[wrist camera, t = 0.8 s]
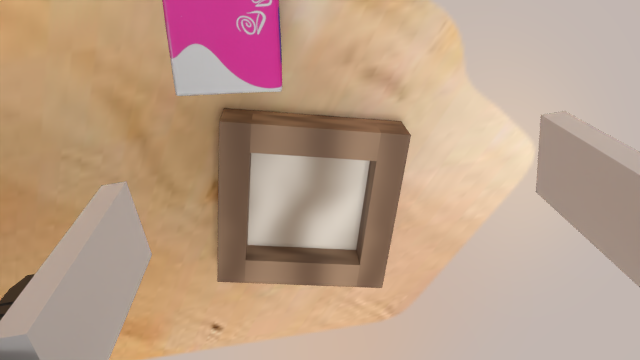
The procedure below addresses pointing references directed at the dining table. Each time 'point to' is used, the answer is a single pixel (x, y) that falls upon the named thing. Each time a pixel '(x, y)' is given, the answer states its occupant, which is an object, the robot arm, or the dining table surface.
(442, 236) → the dining table surface
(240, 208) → the socket block
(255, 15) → the supplement box
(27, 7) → the dining table surface
